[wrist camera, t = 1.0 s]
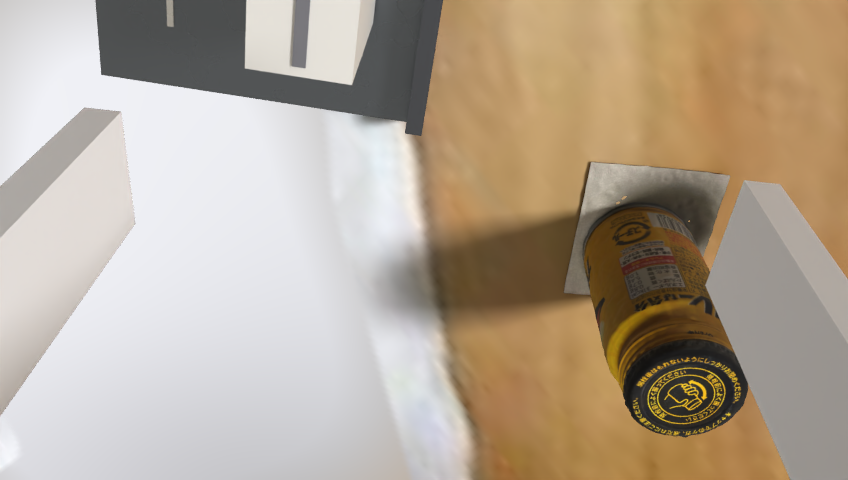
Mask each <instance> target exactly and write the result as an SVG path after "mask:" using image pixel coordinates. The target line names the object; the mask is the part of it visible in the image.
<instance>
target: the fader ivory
mask: <svg viewBox="0 0 848 480" xmlns="http://www.w3.org/2000/svg"><path fill="white" fill-rule="evenodd" d="M375 1H376V0H246V37H245V69H252V70H258V71H265V72H271V73H277V74H284V75H290V76H297V77H303V78H309V79H316V80H322V81H328V82H335V83H341V84H348V85H352V83H353V81H354V78H355V75H356V72H357V69H358V66H359V63H360V60H361V57H362V54H363V51H364V48H365V45H366V42H367V39H368V36H369V34H370V31H371V28H372V25H373V19H374V10H375Z"/></svg>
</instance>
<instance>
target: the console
mask: <svg viewBox="0 0 848 480" xmlns="http://www.w3.org/2000/svg"><path fill="white" fill-rule="evenodd" d="M442 3H443V0H376V1H375V10H374V19H373V25H372V28H371V31H370V34H369V36H368V39H367V42H366V45H365V48H364V51H363V54H362V57H361V60H360V63H359V66H358V69H357V72H356V75H355V78H354V81H353V83H352V85H348V84H341V83H335V82H328V81H322V80H316V79H309V78H303V77H297V76H290V75H284V74H277V73H271V72H265V71H258V70H252V69H245V37H246V0H96V12H97V24H98V36H99V50H100V62H101V74H102V75H107V76H113V77H120V78H126V79H133V80H140V81H146V82H152V83H159V84H166V85H171V86H178V87H184V88H191V89H198V90H204V91H210V92H217V93H223V94H230V95H236V96H243V97H249V98H255V99H262V100H269V101H275V102H281V103H288V104H295V105H301V106H307V107H314V108H320V109H326V110H333V111H339V112H346V113H352V114H359V115H365V116H372V117H378V118H385V119H391V120H397V121H404V122H407V123H406V130H405V133H406V134H412V135H419V136H421V134H422V128H423V122H424V116H425V109H426V103H427V97H428V91H429V84H430V78H431V72H432V66H433V59H434V53H435V47H436V41H437V34H438V28H439V22H440V16H441V9H442Z"/></svg>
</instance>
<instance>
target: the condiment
mask: <svg viewBox="0 0 848 480" xmlns="http://www.w3.org/2000/svg"><path fill="white" fill-rule="evenodd" d="M729 178H730V175H723V174H714V173H709V172H699V171H686V170H681V169H669V168H657V167H651V166H631V165H623V164H607V163H595V162H591V166H590V170H589V176H588V180H587V184H586V189H585V195H584V199H583V204H582V208H581V214H580V217H579V222H578V226H577V231H576V235H575V239H574V244H573V249H572V254H571V259H570V263H569V268H568V273H567V277H566V282H565V288H564V293H572V294H582V295H585V294H587V295H591V298H592V302H593V306H594V309H595V314H596V320H597V323H598V328H599V331H600V335H601V341H602V346H603V349H604V354H605V357H606V360H607V363H608V366H609V369H610V372H611V373H612V375H613V376H614V378H615V379H616V380H617V381H618V382H619V385H620V388H621V390H622V392H623V396H624V399H625V405H626V406H627V408H628V409H629V411H630V412H631V416H632V417H633V418H634V419H635V420H636V421H637V422H638V423H639V424H640V425H642V426H643V427H645V428H647V429H649V430H651V431H653V432H656V433H660V434H663V435H672V436H682V437H688V436H690V435H696V434H701V433H706V432H708V431H710V430H712V429H715V428H716V427H718V426H721V425H723V424H724V423H726V422H727V421H728V420H730V419H731V418H732V417H733V416H734V415H735V413H736V412H738V411H739V410H740V408H741V407H742V406H743V404H744V401H745V398H746V395H747V391H748V382H747V379H746V377H745V375H744V373H743V370H742V368H741V366H740V363H739V361H738V359H737V357H736V354H735V352H734V350H733V348H732V345H731V343H730V341H729V338H728V336H727V334H726V332H725V329H724V327H723V325H722V322H721V320H720V318H719V316H718V313H717V311H716V309H715V306H714V304H713V302H712V300H711V297H710V295H709V293H708V291H707V288H706V286H705V285H706V282H707V279H708V277H709V274H710V271H709V269H708V267H707V265H706V263H705V261H704V259H703V256H704V252H705V249H706V246H707V244H708V242H709V238H710V236H711V233H712V231H713V226H714V223H715V220H716V218H717V214H718V210H719V208H720V204H721V201H722V199H723V196H724V194H725V192H726V188H727V184H728V181H729ZM623 196H627V197H626V198H625V199H624V200H621V198H622V197H623ZM618 201H620V204H618V205H616V202H618ZM689 220H690V222H688V221H689Z"/></svg>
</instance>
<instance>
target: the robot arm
mask: <svg viewBox="0 0 848 480" xmlns="http://www.w3.org/2000/svg"><path fill="white" fill-rule="evenodd" d="M134 225H135V217H134V209H133V201H132V193H131V186H130V177H129V170H128V162H127V154H126V146H125V138H124V131H123V123H122V116H121V112H119V111H110V110H101V109H91V108H84V109H82V110H81V111H80V112H79V113H78V114H77V115H76V116H75V117H74V118H73V119H72V120H71V121H70V122H69V123H68V124H66V125H65V126H64V127H63V128H62V129H61V130H60V131H59V132H58V133H57V134H56V135H55V136H54V137H53V138H52V139H50V140H49V141H48V142H47V143H46V144H45V145H44V146H43V147H42V148H41V149H40V150H39V151H38V152H36V154H34V155H33V156H32V157H31V158H30V159H29V160H28V161H27V162H26V163H25V164H24V165H23V166H21V167H20V169H18V170H17V171H16V172H15V173H14V174H13V175H12V176H11V177H10V178H9V179H8V180H7V181H5V182H4V183H3V184H2V185H1V186H0V416H1V414H2V413H3V412H4V410H5V409H6V407H7V406H8V404H9V403H10V401H11V400H12V399H13V397H14V396H15V394H16V393H17V392H18V390H19V389H20V387H21V386H22V384H23V383H24V382H25V380H26V379H27V377H28V376H29V374H30V373H31V372H32V370H33V369H34V367H35V366H36V364H37V363H38V362H39V360H40V359H41V357H42V356H43V355H44V353H45V352H46V350H47V349H48V347H49V346H50V345H51V343H52V342H53V340H54V339H55V337H56V336H57V335H58V333H59V332H60V330H61V329H62V327H63V326H64V325H65V323H66V322H67V320H68V319H69V317H70V316H71V315H72V313H73V312H74V310H75V309H76V308H77V306H78V305H79V303H80V302H81V300H82V299H83V297H84V296H85V295H86V293H87V292H88V290H89V289H90V288H91V286H92V285H93V283H94V282H95V280H96V279H97V277H98V276H99V275H100V273H101V272H102V270H103V269H104V268H105V266H106V265H107V263H108V262H109V260H110V259H111V258H112V256H113V255H114V253H115V252H116V250H117V249H118V248H119V246H120V245H121V243H122V242H123V241H124V239H125V238H126V236H127V235H128V233H129V232H130V230H131V229H132V228H133V226H134ZM705 286H706V288H707V291H708V293H709V295H710V297H711V300H712V302H713V304H714V306H715V309H716V311H717V313H718V316H719V318H720V320H721V322H722V325H723V327H724V329H725V332H726V334H727V336H728V338H729V341H730V343H731V345H732V348H733V350H734V352H735V354H736V357H737V359H738V361H739V363H740V366H741V368H742V370H743V373H744V375H745V377H746V379H747V382H748V384H749V386H750V389H751V391H752V393H753V395H754V398H755V400H756V402H757V405H758V407H759V409H760V411H761V414H762V416H763V418H764V421H765V423H766V425H767V427H768V430H769V432H770V434H771V436H772V439H773V441H774V443H775V446H776V448H777V450H778V452H779V455H780V457H781V459H782V462H783V464H784V466H785V468H786V471H787V473H788V475H789V478H790V480H848V279H847V278H846V276H845V275H844V273H843V272H842V271H841V269H840V268H839V266H838V265H837V264H836V262H835V261H834V259H833V258H832V256H831V255H830V254H829V252H828V251H827V249H826V248H825V247H824V245H823V244H822V242H821V241H820V240H819V238H818V237H817V235H816V234H815V233H814V231H813V230H812V228H811V227H810V226H809V224H808V223H807V221H806V220H805V219H804V217H803V216H802V214H801V213H800V212H799V210H798V209H797V207H796V206H795V204H794V203H793V202H792V200H791V199H790V197H789V196H788V195H787V193H786V192H785V190H784V189H783V188H782V186H781V185H780V184H773V183H764V182H755V181H746V180H744V182H743V185H742V187H741V190H740V193H739V196H738V198H737V201H736V204H735V206H734V209H733V212H732V214H731V217H730V220H729V223H728V225H727V228H726V231H725V233H724V236H723V239H722V242H721V244H720V247H719V250H718V252H717V255H716V258H715V261H714V263H713V266H712V269H711V271H710V274H709V277H708V279H707V282H706V285H705Z"/></svg>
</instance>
